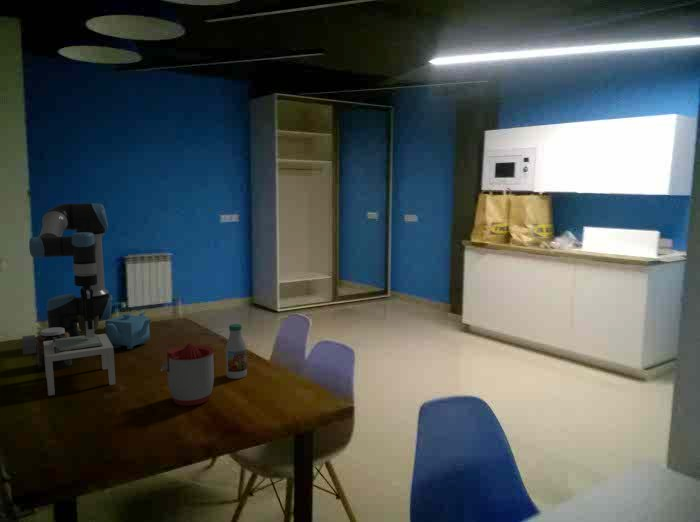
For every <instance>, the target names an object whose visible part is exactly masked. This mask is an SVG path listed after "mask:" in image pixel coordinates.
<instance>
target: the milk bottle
mask: <svg viewBox="0 0 700 522" xmlns="http://www.w3.org/2000/svg"><path fill="white" fill-rule="evenodd" d="M228 329H229V336H228V339H227V341H226V345H225V373H226V377H227V378H229V379H234V380H235V379H238V380H239V379H242V378H245V377H246V376H247V374H248V367H247V346H246V342H245V341H246V340H245V339H244V337H243V335H242V329H243V327H242V324H239V323H233V324H230V325H229V326H228Z"/></svg>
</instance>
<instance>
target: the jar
mask: <svg viewBox="0 0 700 522" xmlns="http://www.w3.org/2000/svg"><path fill="white" fill-rule="evenodd" d="M54 337H57V339H60V338H68V337H70V335H69V333H67V332H65V328H62V327H54V328H48V327H47V328H44V329H42V330H40V334H39V335H37V337H36V352H37V353H36V355H37V367H38V370H41V371H45V358H44V345H43V341H51V340H53V338H54ZM55 348H56V347H54V351H55ZM67 351H72V349H71V350H63V351H59V352H67ZM52 362H53V371H56V370H61V369H64V368H68V367H70V366H72V365H73V360H72V359H66V360H59V361H52Z"/></svg>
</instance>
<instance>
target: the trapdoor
mask: <svg viewBox="0 0 700 522" xmlns="http://www.w3.org/2000/svg"><path fill="white" fill-rule="evenodd" d="M94 334H95V337H93V338H86V336H84V335H81V336H76V337H68V338H60V339H55V343H56V348H59V351H63V350H71V351H72V350H79V349H87V348H94V347H101V343H100V341H99V339H98V337H97V335H98V334H97V333H94ZM21 342H22V345H21V346H22V355H30V354H37V339H36V334H31V335H24V336H22V339H21Z"/></svg>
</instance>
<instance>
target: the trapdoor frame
mask: <svg viewBox="0 0 700 522" xmlns="http://www.w3.org/2000/svg"><path fill="white" fill-rule="evenodd" d="M96 335H97V337H98V339H99V341H100V343H101V345H100V346H95V347H88V348H80V349H73V350H71V351H67V352H59V348H55V351H54V347H56V343H55V339H57V337H54V338H53V340H51V341H43V345H44V358H45V370H44V371H45V379H46V382H47V383H46V384H47V395H48V396H55V395H56V393H55V391H56V389H55V377H54V376H55V375H54V370H53V362H52V361H59V360H66V359H80V358H85V357H87V358H88V357H93V356H99V355H100V356H101V369H102V370H107V371H108V372H107V373H108V384H109V386H112V385H116V384H117V383H116V371H115V370H116V369H115V368H116V366H115V350H114V349H115V348H113V347H114V346H113V345H112V344H111V342H110V340H109V339H108V337H107V335H106V333H101V334H99V333H98V334H96Z"/></svg>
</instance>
